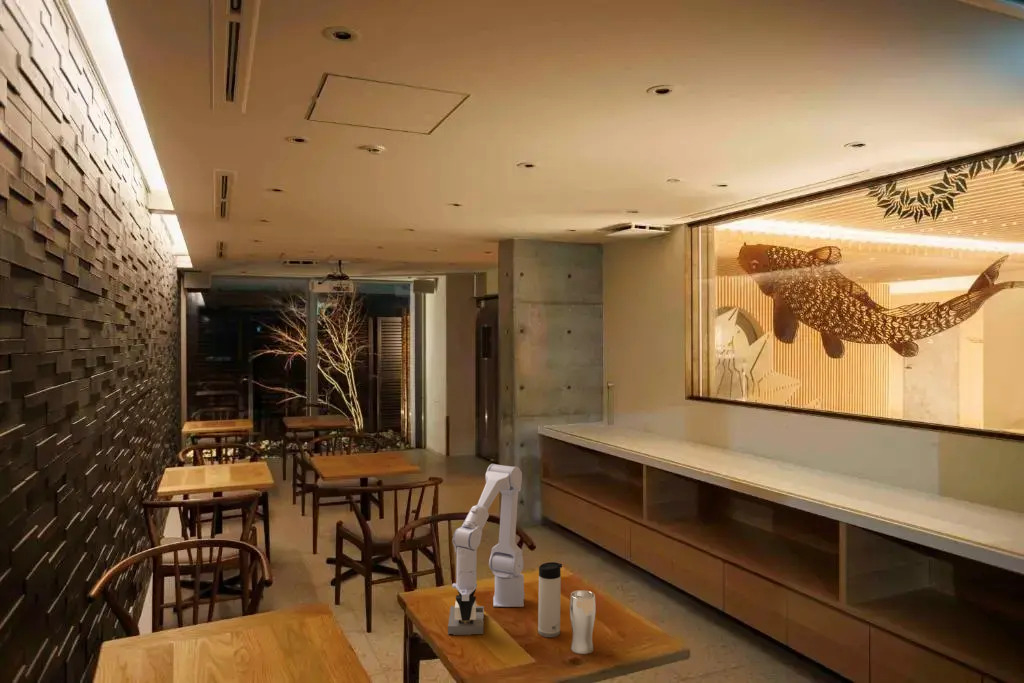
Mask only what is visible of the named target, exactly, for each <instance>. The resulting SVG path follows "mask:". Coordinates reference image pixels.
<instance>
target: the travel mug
mask: <svg viewBox="0 0 1024 683" xmlns="http://www.w3.org/2000/svg"><path fill="white" fill-rule="evenodd" d="M562 568H563V564H562V563H560V562H554V561H553V562H552V561H551V562H545V563H542V564H540V566H539V567H538V602H537V603H538V605H537V606H538V612H537V614H538V616H537V617H538V618H537V620H538V623H537V624H538V625H537V627H538V628H537V632H538V634H539V635H540V636H541V637H544V638H556V637H558V636H559V635H560V634H561V593H562V592H561V591H562V590H561V589H562V588H561V583H562V582H561V581H562V579H561V576H562V575H561V574H562V573H561V570H562Z"/></svg>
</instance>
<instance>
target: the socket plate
mask: <svg viewBox="0 0 1024 683" xmlns="http://www.w3.org/2000/svg"><path fill="white" fill-rule="evenodd" d="M476 608H483V612H476V620H470V622H467V621H466V624H464V622H461V620H455V605H450V608H449V617H448V624H447V635H448V636H450V635H449V634H453V635H452V636H472V635H471V634H483V635H484V620H483V619H484V614H485V612H484V610H485V608H484V605H476Z"/></svg>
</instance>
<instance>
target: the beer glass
mask: <svg viewBox="0 0 1024 683" xmlns="http://www.w3.org/2000/svg"><path fill="white" fill-rule="evenodd" d="M596 608H597V607H596V594H595V593H594V592H593V591H589V590H583V589H582V590H581V589H579V590H574V591H572V592H571V593H570V601H569V615H570V616H569V618H570V624H571V632H572V640H571V645H570V650H571V651H572V652H573V653H575V654H579V655H588V653H589V654H591V653H592V652H593V651H594V644H593V632H594V627H595V626H594V625H595V619H596V611H597V610H596Z"/></svg>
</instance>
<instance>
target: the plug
mask: <svg viewBox="0 0 1024 683" xmlns="http://www.w3.org/2000/svg"><path fill="white" fill-rule="evenodd" d="M454 603H455V604H454V606H455V620H461V622H464V624H466V621H463V620H462V618H461V612H460V607H459V605H458V603H457V601H456V600H455V602H454ZM476 606H477V600H475V602H474V604H473V606H472V610H471V616H470V620H476V612H483V608H476ZM470 620H469V621H467V622H470Z"/></svg>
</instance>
